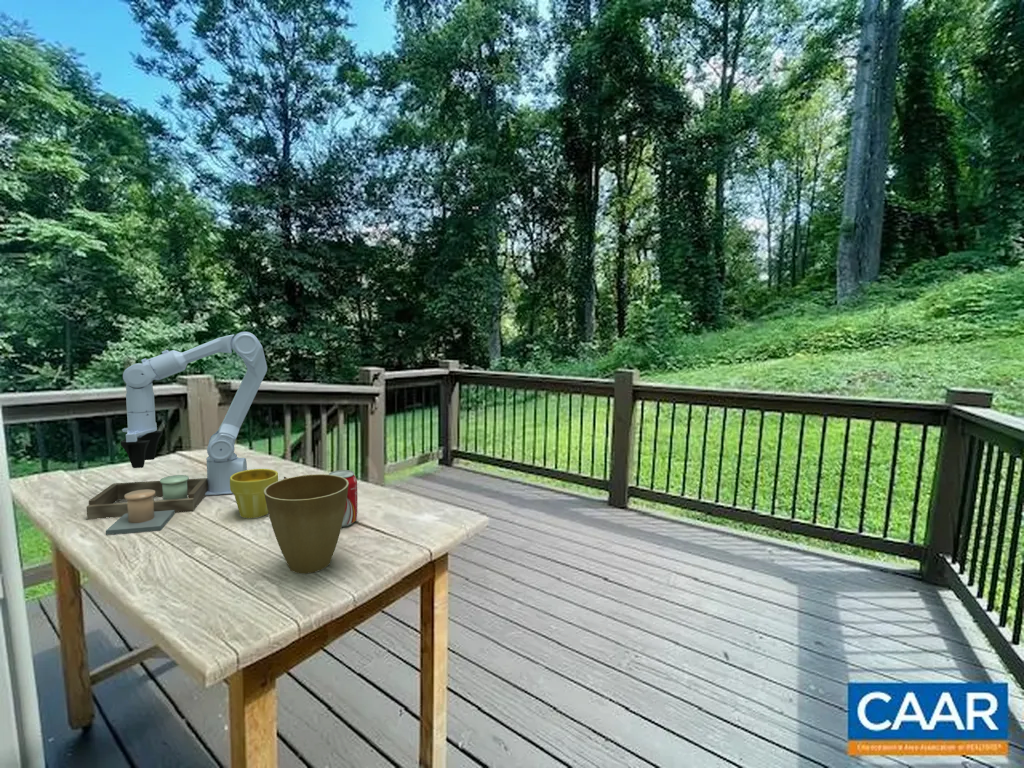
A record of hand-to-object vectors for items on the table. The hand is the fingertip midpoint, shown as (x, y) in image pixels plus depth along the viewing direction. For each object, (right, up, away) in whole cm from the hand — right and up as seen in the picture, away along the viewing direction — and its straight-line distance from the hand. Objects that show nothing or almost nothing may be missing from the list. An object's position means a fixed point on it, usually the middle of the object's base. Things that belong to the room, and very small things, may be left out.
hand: (143, 463), depth 128 cm
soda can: (+54, -13, -10) cm, 56 cm away
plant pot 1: (+32, -11, -6) cm, 34 cm away
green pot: (+9, -10, -1) cm, 13 cm away
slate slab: (+10, -12, -14) cm, 21 cm away
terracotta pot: (+10, -10, -14) cm, 20 cm away
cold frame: (+4, -10, -3) cm, 11 cm away
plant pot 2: (+55, -15, -31) cm, 64 cm away
